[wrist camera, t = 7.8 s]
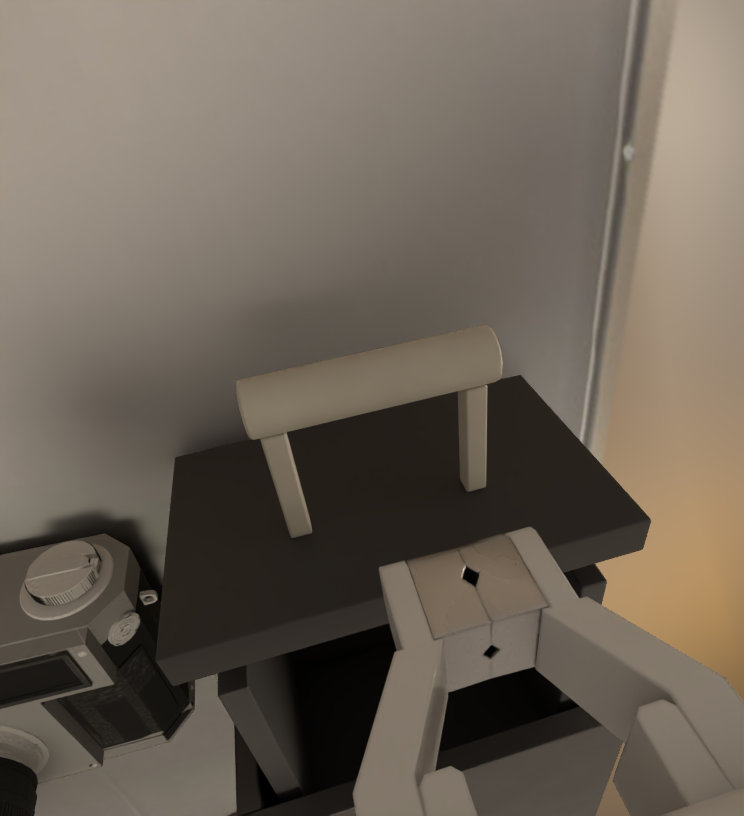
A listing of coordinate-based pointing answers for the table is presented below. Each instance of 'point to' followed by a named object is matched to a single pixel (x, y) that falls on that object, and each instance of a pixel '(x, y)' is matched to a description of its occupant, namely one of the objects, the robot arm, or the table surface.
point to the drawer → (367, 541)
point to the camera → (78, 665)
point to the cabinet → (479, 772)
